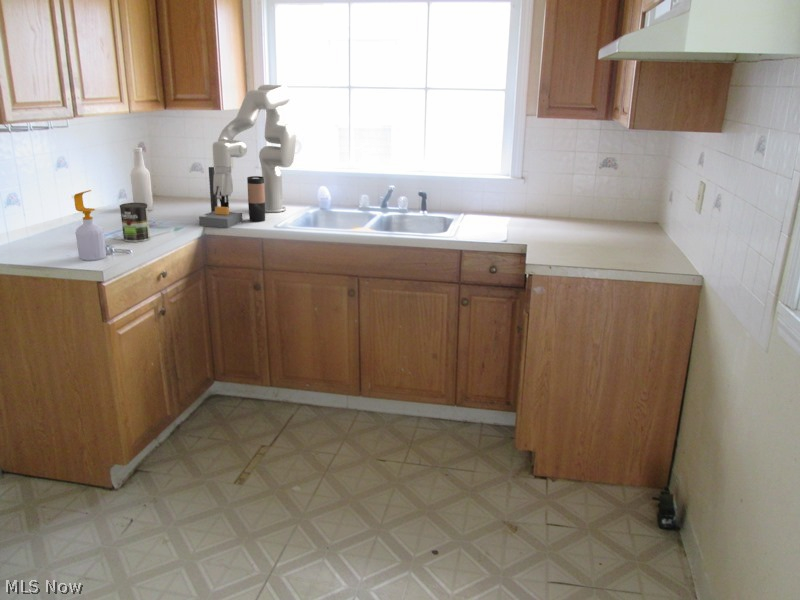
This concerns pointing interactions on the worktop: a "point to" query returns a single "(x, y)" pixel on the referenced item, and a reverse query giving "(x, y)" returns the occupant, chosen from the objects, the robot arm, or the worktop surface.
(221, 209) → the handle
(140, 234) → the coffee can
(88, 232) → the soap bottle
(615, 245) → the worktop surface
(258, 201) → the travel mug
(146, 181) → the alcohol
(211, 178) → the post
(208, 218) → the grey square slab
